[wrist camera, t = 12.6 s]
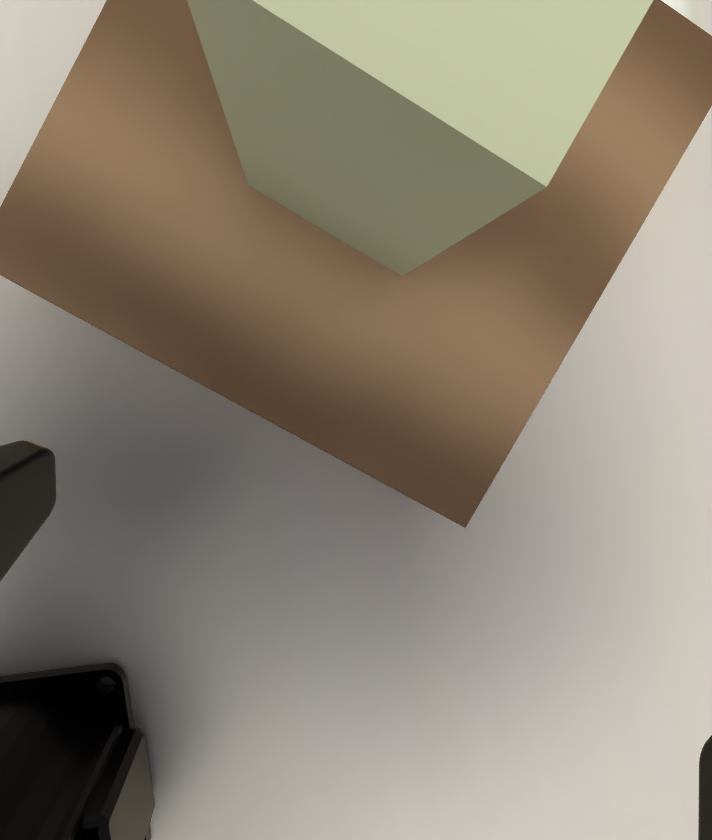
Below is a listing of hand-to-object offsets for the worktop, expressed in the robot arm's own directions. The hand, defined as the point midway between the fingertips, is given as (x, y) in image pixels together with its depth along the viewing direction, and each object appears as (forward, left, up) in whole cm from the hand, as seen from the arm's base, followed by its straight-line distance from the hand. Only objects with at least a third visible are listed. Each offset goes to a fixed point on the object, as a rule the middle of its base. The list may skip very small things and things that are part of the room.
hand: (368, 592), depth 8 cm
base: (+2, +8, -12) cm, 14 cm away
